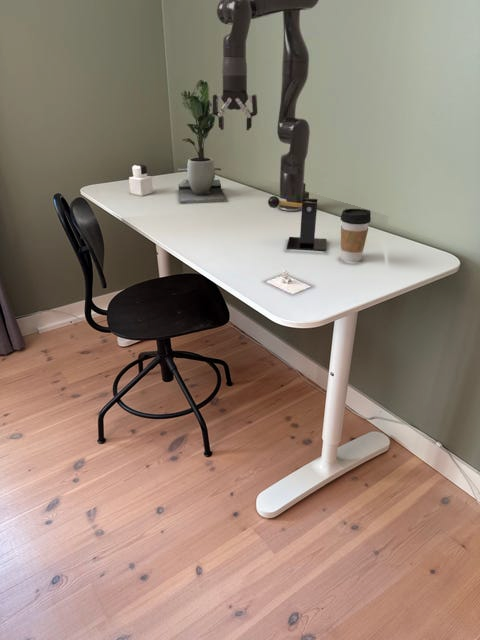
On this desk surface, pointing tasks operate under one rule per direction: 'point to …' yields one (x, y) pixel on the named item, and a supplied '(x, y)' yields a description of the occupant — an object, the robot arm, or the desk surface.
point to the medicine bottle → (140, 181)
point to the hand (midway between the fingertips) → (235, 129)
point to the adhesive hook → (288, 283)
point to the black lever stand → (307, 229)
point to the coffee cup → (354, 233)
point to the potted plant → (200, 154)
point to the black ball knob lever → (281, 203)
